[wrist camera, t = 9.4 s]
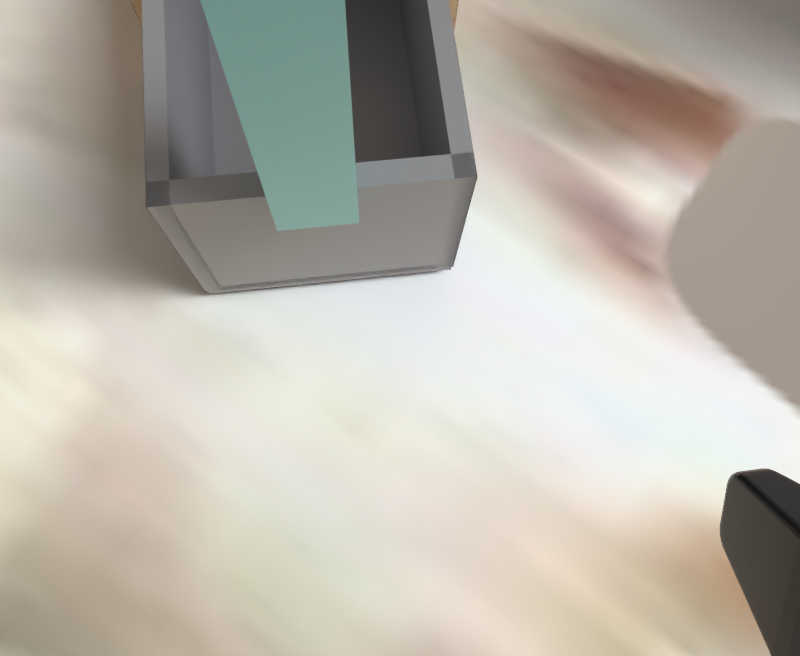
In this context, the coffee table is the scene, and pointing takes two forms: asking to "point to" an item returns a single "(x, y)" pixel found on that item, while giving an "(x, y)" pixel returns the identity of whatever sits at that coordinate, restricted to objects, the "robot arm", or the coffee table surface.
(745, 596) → the robot arm
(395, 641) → the coffee table surface
